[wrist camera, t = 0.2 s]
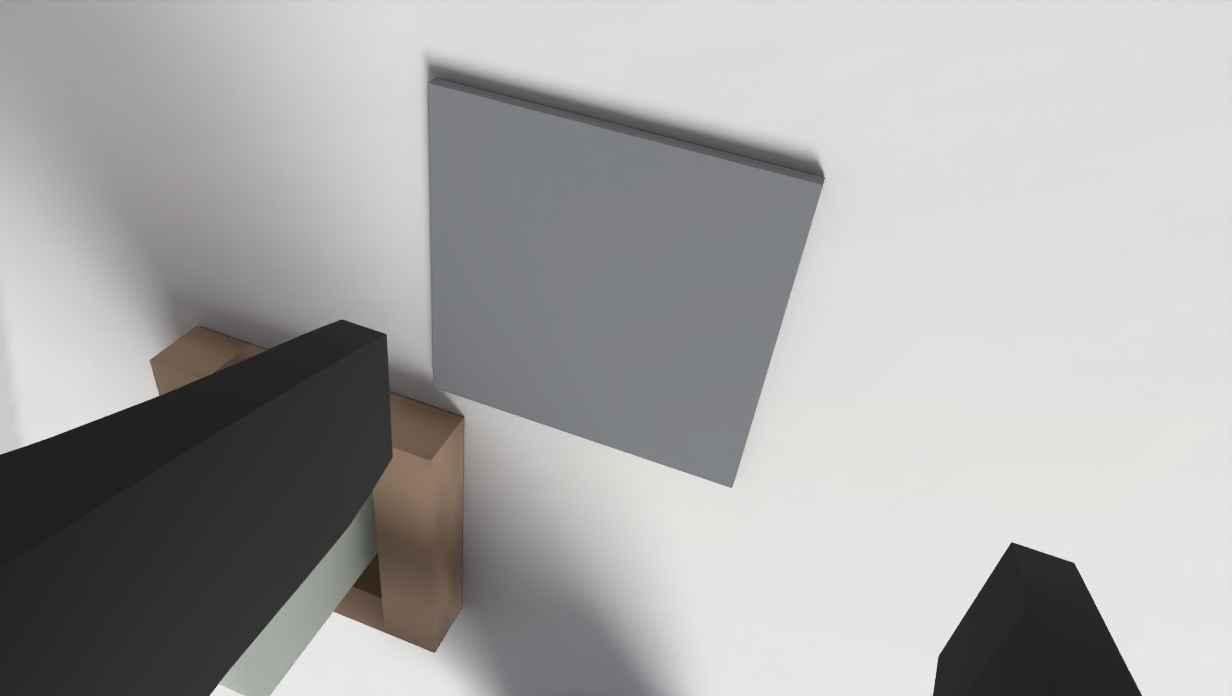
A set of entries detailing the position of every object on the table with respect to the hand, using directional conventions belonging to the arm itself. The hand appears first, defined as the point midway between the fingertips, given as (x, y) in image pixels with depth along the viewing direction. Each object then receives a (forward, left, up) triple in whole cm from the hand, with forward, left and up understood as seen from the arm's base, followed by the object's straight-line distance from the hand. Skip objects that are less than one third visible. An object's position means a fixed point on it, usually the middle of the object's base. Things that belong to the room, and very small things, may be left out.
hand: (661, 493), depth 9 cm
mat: (-5, +4, -10) cm, 12 cm away
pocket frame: (-15, +13, -10) cm, 22 cm away
